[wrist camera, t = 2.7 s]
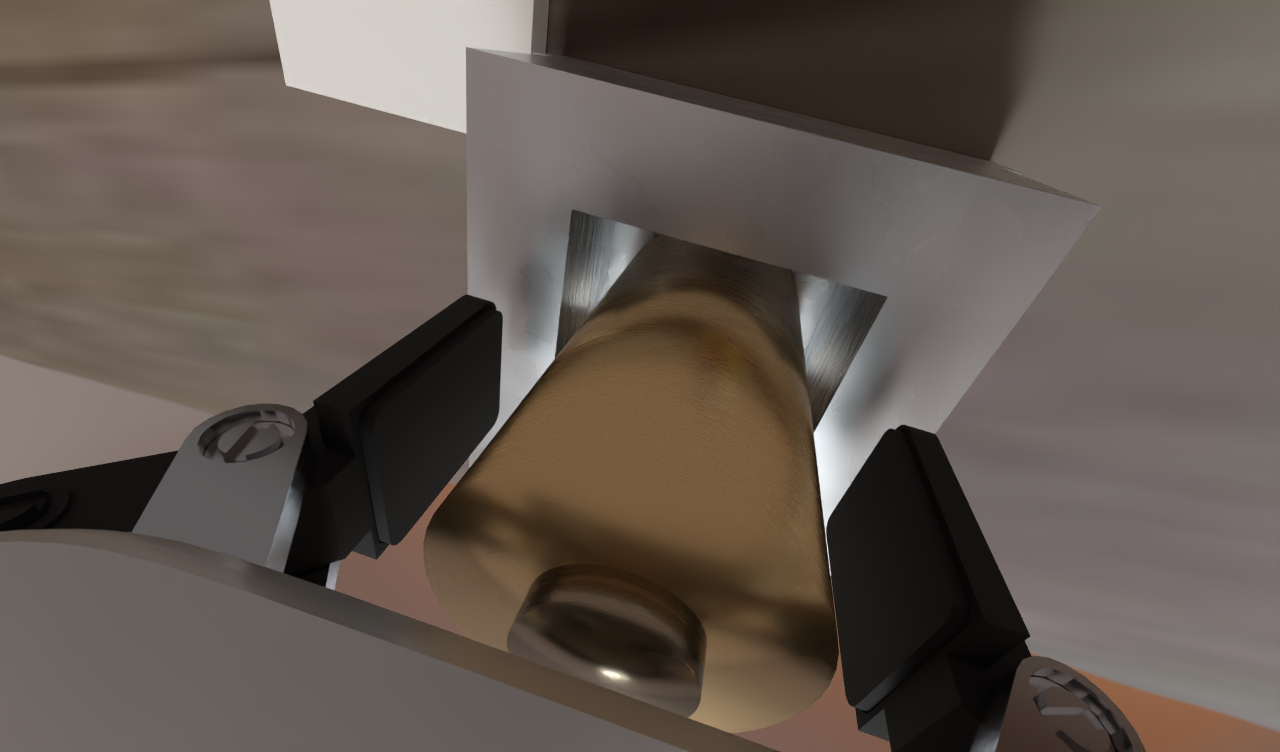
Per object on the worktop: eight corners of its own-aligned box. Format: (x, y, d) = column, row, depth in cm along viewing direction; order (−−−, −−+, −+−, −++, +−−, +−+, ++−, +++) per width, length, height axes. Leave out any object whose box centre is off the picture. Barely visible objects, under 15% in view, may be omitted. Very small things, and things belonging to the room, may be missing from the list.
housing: (990, 161, 12) (1135, 215, 8) (820, 457, 19) (837, 594, 14) (561, 54, 13) (439, 40, 9) (534, 369, 20) (454, 467, 15)
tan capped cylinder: (829, 251, 13) (959, 636, 4) (761, 407, 16) (747, 821, 7) (637, 199, 13) (366, 440, 4) (606, 360, 16) (410, 692, 7)
